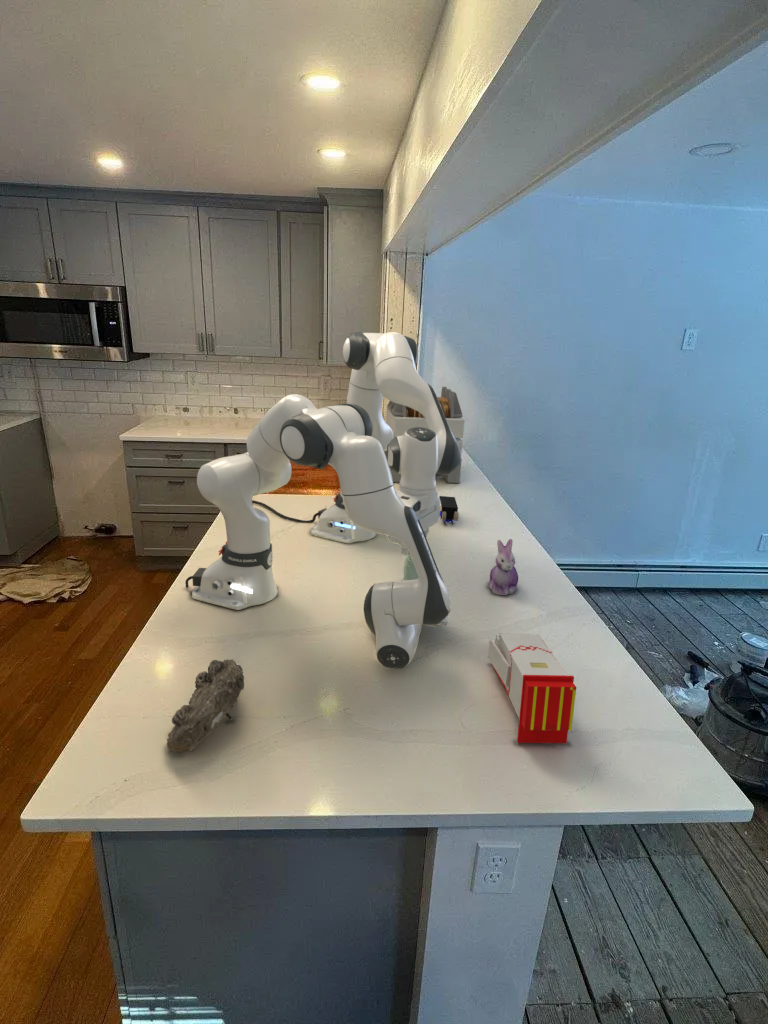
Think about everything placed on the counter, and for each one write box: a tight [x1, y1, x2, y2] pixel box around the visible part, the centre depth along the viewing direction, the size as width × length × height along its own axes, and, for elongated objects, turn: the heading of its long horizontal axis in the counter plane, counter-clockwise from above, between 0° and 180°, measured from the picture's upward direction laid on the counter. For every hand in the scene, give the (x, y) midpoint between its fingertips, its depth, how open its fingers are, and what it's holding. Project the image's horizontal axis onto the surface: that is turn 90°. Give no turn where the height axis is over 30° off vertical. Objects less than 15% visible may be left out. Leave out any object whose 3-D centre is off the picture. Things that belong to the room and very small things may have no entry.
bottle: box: [402, 554, 419, 581], centre depth 144 cm, size 5×5×20 cm
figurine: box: [488, 538, 519, 596], centre depth 161 cm, size 9×10×15 cm
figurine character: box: [438, 495, 459, 526], centre depth 214 cm, size 7×8×15 cm
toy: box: [487, 632, 577, 744], centre depth 116 cm, size 12×13×30 cm
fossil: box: [166, 658, 245, 754], centre depth 106 cm, size 22×10×15 cm
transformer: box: [384, 386, 465, 484], centre depth 268 cm, size 34×33×41 cm
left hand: (411, 593), depth 147 cm, fingers closed on bottle, 5 cm apart
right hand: (413, 549), depth 141 cm, fingers open, 6 cm apart
